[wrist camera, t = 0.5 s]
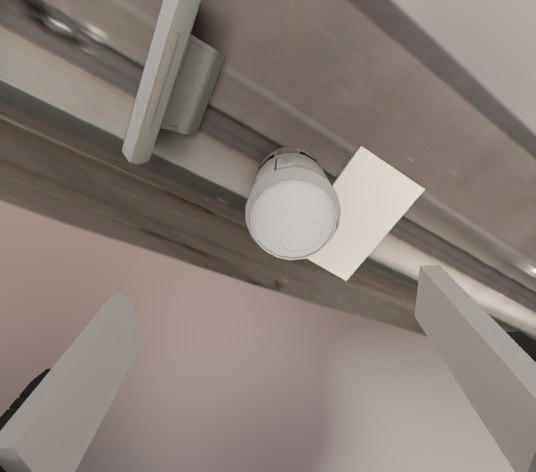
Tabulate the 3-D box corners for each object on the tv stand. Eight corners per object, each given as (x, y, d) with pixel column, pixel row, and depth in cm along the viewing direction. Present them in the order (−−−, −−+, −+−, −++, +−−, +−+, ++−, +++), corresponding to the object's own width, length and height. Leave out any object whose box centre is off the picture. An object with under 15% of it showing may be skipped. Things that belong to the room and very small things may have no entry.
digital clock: (183, -21, 30) (136, -81, 20) (254, 43, 32) (242, 17, 22) (113, 115, 36) (50, 119, 26) (178, 162, 38) (141, 183, 28)
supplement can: (331, 192, 38) (359, 241, 24) (275, 219, 40) (271, 279, 26) (304, 133, 35) (319, 152, 22) (245, 166, 37) (224, 202, 24)
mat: (287, 245, 42) (288, 247, 41) (360, 145, 36) (361, 145, 35) (345, 278, 43) (346, 281, 43) (423, 188, 37) (425, 189, 37)
